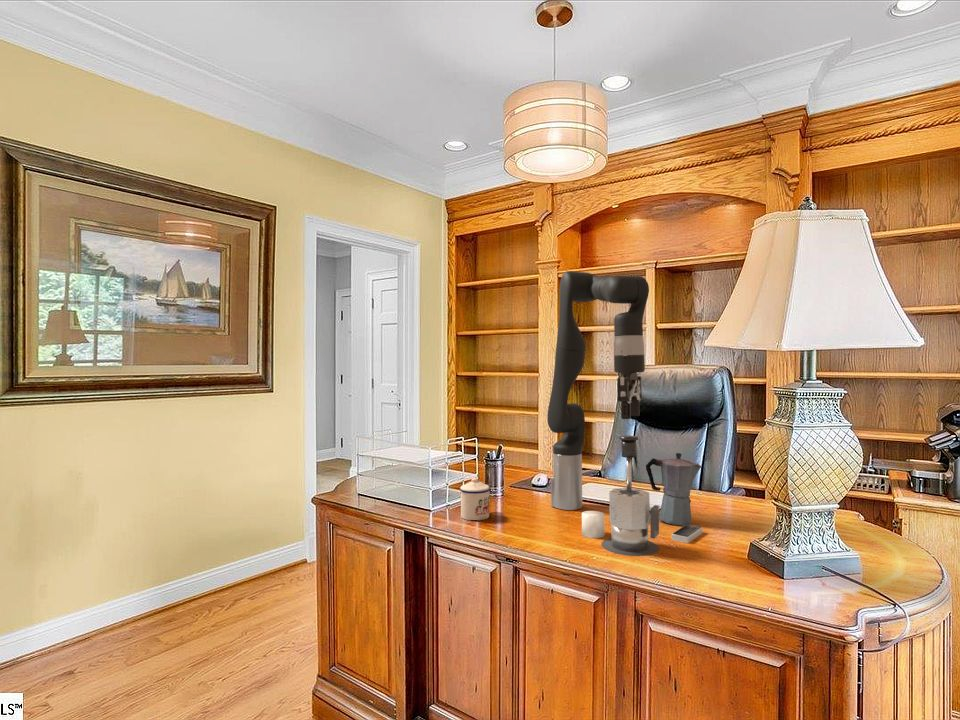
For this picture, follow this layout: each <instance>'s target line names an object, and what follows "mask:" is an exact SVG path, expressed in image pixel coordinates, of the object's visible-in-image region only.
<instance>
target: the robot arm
mask: <svg viewBox="0 0 960 720" xmlns="http://www.w3.org/2000/svg"><path fill="white" fill-rule="evenodd" d="M649 293H650V287H649V283H648V280H647V279H646V278H644V277H643V276H641V275H639V276H638V275H602V276H598V275H595V274H593V273H591V272H585V271H571V270H567V271H565V272H563V274H562V275H561V278H560V282H559V296H558V297H559V299H558V300H559V305H558V307H559V309H558V311H559V312H558V327H557V328H558V329H557V336H556V337H557V338H556V346H555V356H554V370H553V371H554V372H553V381H552V387H551V391H550V392H551V393H550V398H549V403H548V407H547V408H548V409H547V418H546V419H547V425H548V427H549V430H550V431H551V432H552V433H555V434H562V433H563V435H562V437H561V438H560V439H559V440H558V441H557V442H555V443H554V444H553V446H552V464H553V465H552V469H553V470H552V472H553V475H552V476H551V477H550V506H551V508H553V507H554V508H556V509H558V510H565V511H574V510H575V511H576V510H580V509H582V508H583V448H584V444H585V429H586V427H585V425H586V419H585V417H586V416H585V412H584V410H583V408H582V406H581V405H580V404H578V403H575V402H574V403H573V402H571V403H568V401H569V395H570V391H571V389H572V386H573V385H574V383H575V382H576V380H577V378H578V377H579V375H580V373H581V372H582V369H583V367H584V364H585V359H586V350H587V349H586V345H587V344H586V340H585V339H584V336H583V334H582V332H581V330H580V329H579V326H578V324H577V322H576V320H575V317H574V310H573V302H576V303H577V302H578V303H587V302H592V301H596V300H599V301H602V302H607V303H610V304H618V305H619V304H620V305H621V304H628V305H629V304H630V307H629V309H628V311H625V312H621V313H617V314H616V315H615V316H614V319H613V330H614V332H613V334H614V339H613V340H614V341H613V364H614V365H613V367H614V369H613V371H614V373H617V374H618V373H619V374H621V377H619V376H618V377H617V379H616V380H617V384H616V386H617V390H616V391H617V392H616V393H617V396H616V397H617V399H616V400H617V402H619V404H620V416H621V417H620V418H621V420H630V419H631V418H632V417H639V416H640V413H641V412H640V402H641V399H642V398H643V395H642V393H643V392H642V391H643V389H642V376H641V375H638V373H644V372H645V369H646V368H645V367H646V366H645V365H646V364H645V363H646V361H645V342H644V331H643V326H644V325H643V319H644V315H645V310H646V306H647V301H648V298H649V295H650V294H649Z"/></svg>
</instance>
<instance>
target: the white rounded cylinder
mask: <svg viewBox="0 0 960 720" xmlns="http://www.w3.org/2000/svg"><path fill="white" fill-rule="evenodd" d="M605 524H606V523H605V513H603V512H602V511H598V510H586V511H582V512H581V536H583V537H584V538H589V539H601V538H604V537H605V536H606V534H605V531H606V530H605V528H606V527H605V526H606V525H605Z"/></svg>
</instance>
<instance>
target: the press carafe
mask: <svg viewBox="0 0 960 720" xmlns="http://www.w3.org/2000/svg"><path fill="white" fill-rule="evenodd" d="M608 494H609V500H608V501H609V524H610V525H611V529H610V531H611V532H610V533H611V535H610V536H611V537H610V538H611V545H612V547H614V548H615V549H618V550H621V551H626V552H642V551H646V550H647V549H648V548H649V543H648V541H649V526H650V539H656V538H657V537H658V536H659V534H660V519H659V515H660V507H659V505H657V504H654V505H653V506H652V507H651V508H650V491H649V492H648V491H646V490H644V489H641V488H633V487H632V493H627V487H620V488H613V489H611V490H610V491H609V493H608Z"/></svg>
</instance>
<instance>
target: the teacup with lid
mask: <svg viewBox="0 0 960 720" xmlns="http://www.w3.org/2000/svg"><path fill="white" fill-rule="evenodd" d="M459 491H460V518H462V519H463V520H466V521H471V520H478V521H483V520H484V521H485V520H487V519H488V518H489V517H490V498H491V492H490V491H491V488H490V486H489V485H488V484H486V483H483V482H481V481H479V478H478V477H473V478H471V481H469V482H467V483H465V484H462V485H461V486H460V488H459Z"/></svg>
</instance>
